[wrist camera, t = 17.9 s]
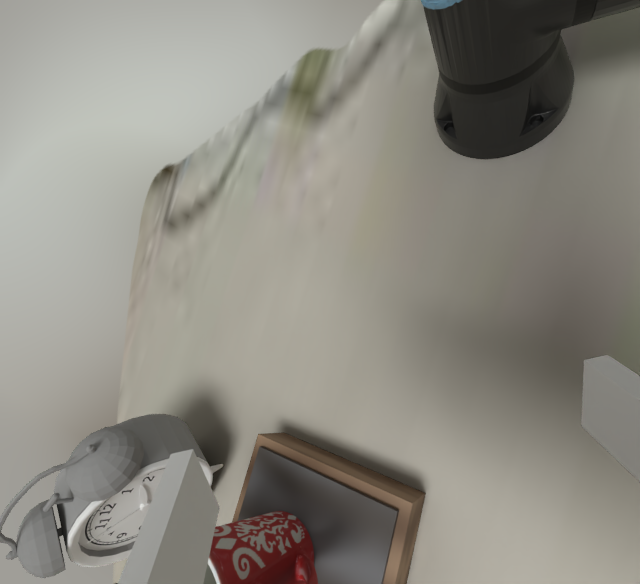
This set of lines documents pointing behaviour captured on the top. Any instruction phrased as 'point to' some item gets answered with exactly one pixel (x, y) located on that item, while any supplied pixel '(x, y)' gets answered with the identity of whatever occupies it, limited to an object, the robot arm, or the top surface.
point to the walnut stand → (335, 509)
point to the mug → (262, 552)
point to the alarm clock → (101, 495)
